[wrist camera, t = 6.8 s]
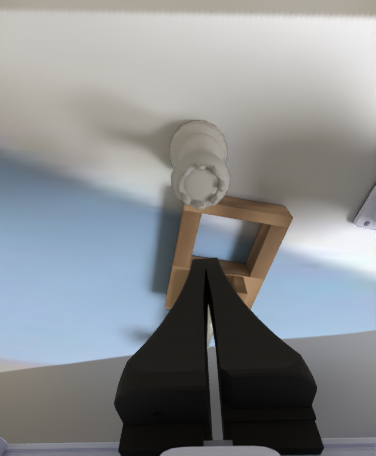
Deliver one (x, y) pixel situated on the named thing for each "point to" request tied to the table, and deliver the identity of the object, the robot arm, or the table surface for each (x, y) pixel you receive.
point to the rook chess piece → (199, 164)
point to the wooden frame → (235, 272)
